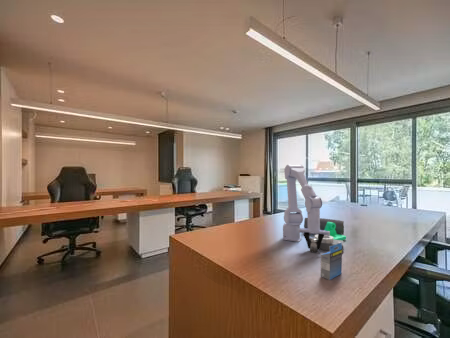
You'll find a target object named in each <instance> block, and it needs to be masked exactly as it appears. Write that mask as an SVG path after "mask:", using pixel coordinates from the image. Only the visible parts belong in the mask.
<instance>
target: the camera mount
mask: <svg viewBox="0 0 450 338" xmlns="http://www.w3.org/2000/svg"><path fill="white" fill-rule="evenodd" d="M335 228H336V225H335V223H333V222H327V224H326V226H325V229H324V230H325V231H330V236H332V237H333V239H334V240H342V241H343V242H344V240H347V235H340V234H337V233H336V231H335Z"/></svg>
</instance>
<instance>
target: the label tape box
mask: <svg viewBox="0 0 450 338" xmlns="http://www.w3.org/2000/svg"><path fill="white" fill-rule="evenodd" d="M336 247H338V249H335V250H334V248H336ZM329 248H330V251H327V252H324V253H322V254H321V255H320V277H322V278H324V279H326V280H328V281H331V280H333V279H334V278H336V277H338V276H340V275H342V273H343V272H342V266H343V265H342V264H343V253H342V243H339V244H336V245H333V246H329Z"/></svg>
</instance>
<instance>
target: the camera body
mask: <svg viewBox="0 0 450 338" xmlns="http://www.w3.org/2000/svg"><path fill="white" fill-rule="evenodd" d="M318 235H319V234H314V238H316V239H318ZM339 243H342V254H343V253H344V240H343V241H342V240H334V239H333V237H332V236H327V235H324V237H323V239H322V242H321V245H320V250H322V251H327V252H329V251H330V248H329V246H333V245H336V244H339ZM335 249H338V247H336V248H334V250H335Z"/></svg>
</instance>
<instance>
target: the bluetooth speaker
mask: <svg viewBox="0 0 450 338" xmlns="http://www.w3.org/2000/svg"><path fill="white" fill-rule="evenodd" d="M303 221H304V223H303V228H308V217H304V218H303ZM327 222H333V223H335V225H336V228H335V231H336V233H337V234H340V235H344V234H345V227H344V226H345V225H344V220H339V219H330V218H321V217H320V230H324V229H325V226H326V224H327ZM344 236H345V235H344Z"/></svg>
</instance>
